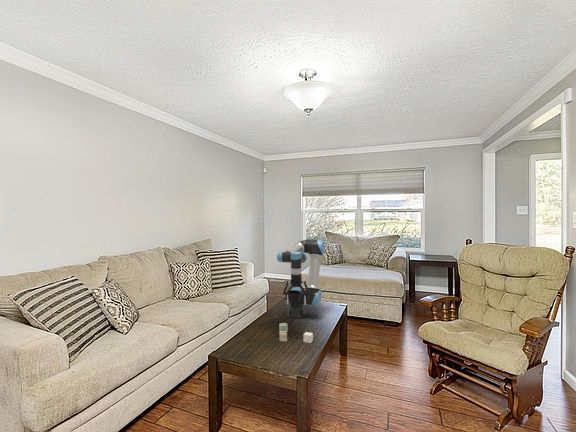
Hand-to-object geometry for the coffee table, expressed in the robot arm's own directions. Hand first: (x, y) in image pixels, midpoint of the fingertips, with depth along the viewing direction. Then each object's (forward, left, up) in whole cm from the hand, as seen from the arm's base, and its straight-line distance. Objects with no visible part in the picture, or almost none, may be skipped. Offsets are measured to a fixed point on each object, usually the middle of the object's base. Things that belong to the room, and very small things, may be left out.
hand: (296, 304), depth 212 cm
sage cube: (-4, -10, -21) cm, 24 cm away
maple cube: (+11, -8, -21) cm, 25 cm away
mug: (0, 0, -1) cm, 1 cm away
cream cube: (+11, +9, -21) cm, 26 cm away
